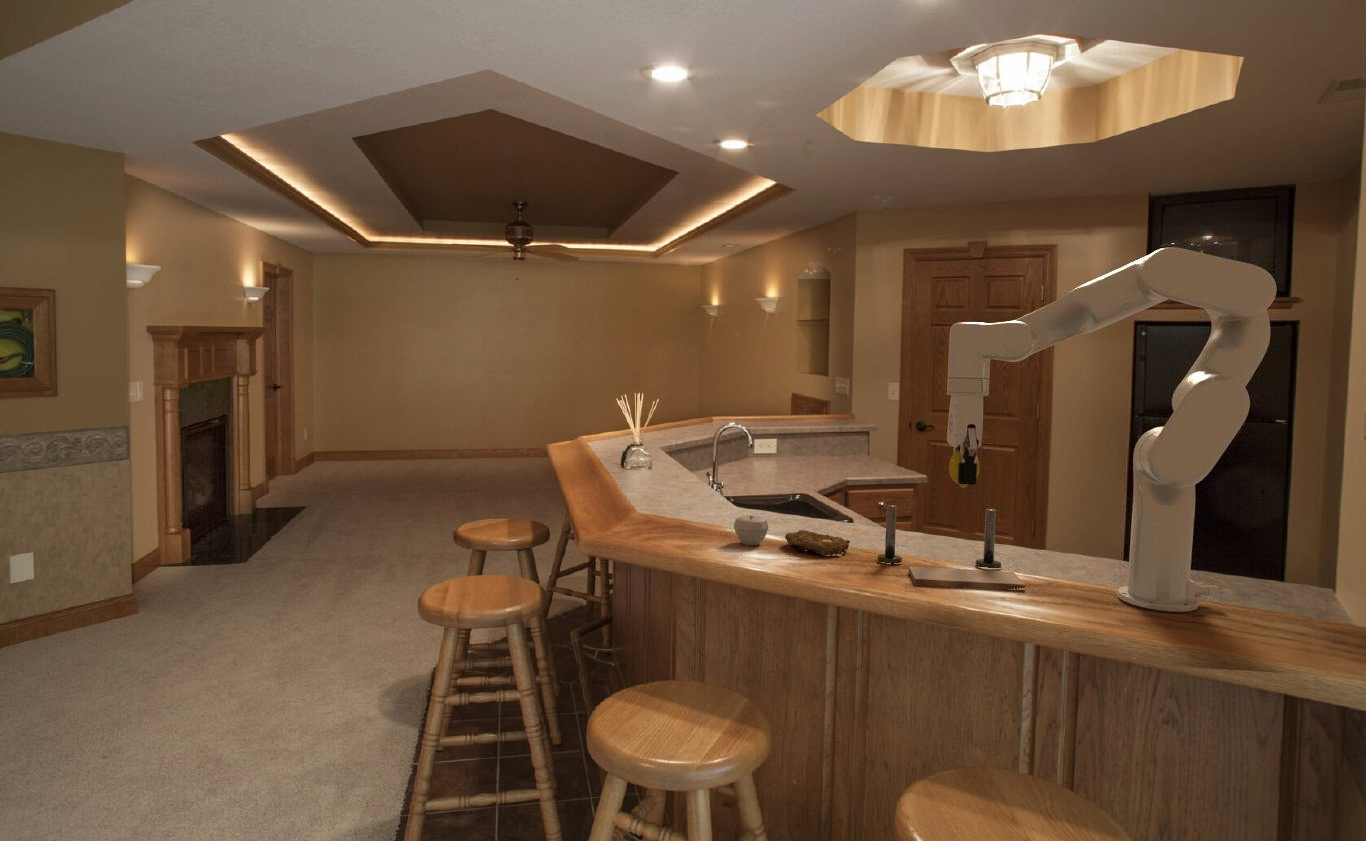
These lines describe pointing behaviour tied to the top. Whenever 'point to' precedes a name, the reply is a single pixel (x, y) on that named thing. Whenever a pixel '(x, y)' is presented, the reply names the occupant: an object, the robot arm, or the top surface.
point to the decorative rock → (817, 542)
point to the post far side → (890, 538)
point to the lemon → (955, 468)
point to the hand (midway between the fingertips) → (963, 480)
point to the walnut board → (965, 578)
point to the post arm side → (989, 542)
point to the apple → (751, 529)
